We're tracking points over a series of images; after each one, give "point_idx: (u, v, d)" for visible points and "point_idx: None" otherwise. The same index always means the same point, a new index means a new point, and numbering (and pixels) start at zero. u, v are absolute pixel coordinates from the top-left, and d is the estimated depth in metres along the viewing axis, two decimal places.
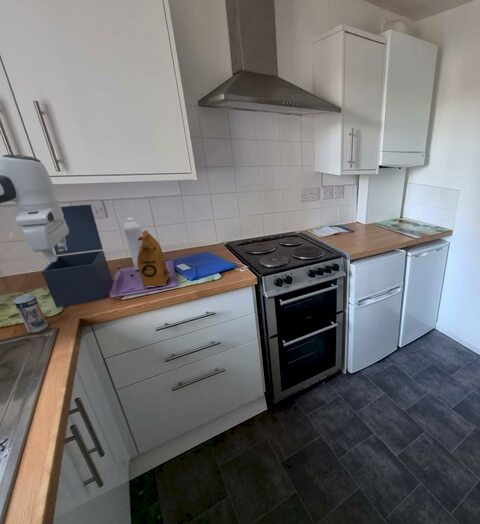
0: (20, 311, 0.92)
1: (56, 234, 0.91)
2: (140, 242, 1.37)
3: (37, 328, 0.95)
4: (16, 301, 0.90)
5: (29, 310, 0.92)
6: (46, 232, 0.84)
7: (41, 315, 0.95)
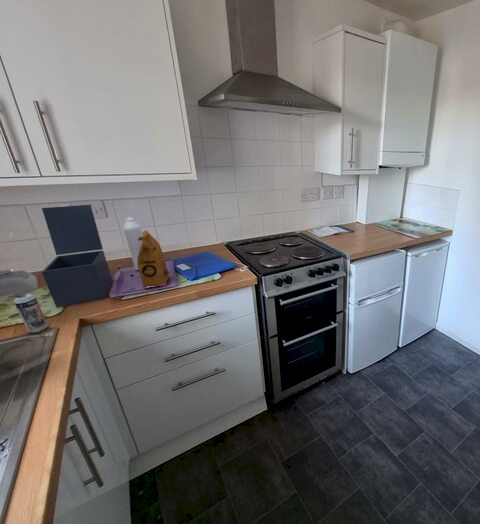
0: (20, 311, 0.92)
1: None
2: (140, 242, 1.37)
3: (37, 328, 0.95)
4: (16, 301, 0.90)
5: (29, 310, 0.92)
6: None
7: (41, 315, 0.95)
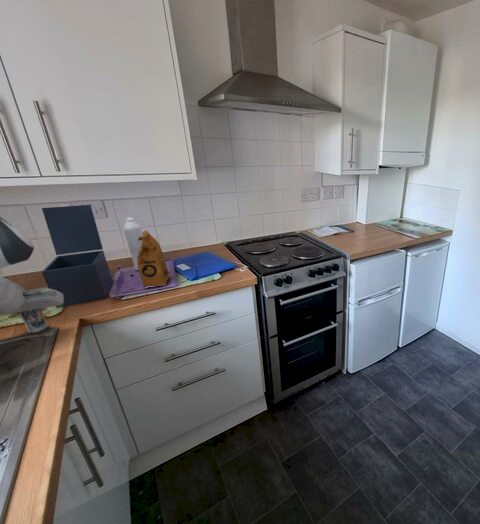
0: None
1: None
2: (140, 242, 1.37)
3: (37, 328, 0.95)
4: None
5: (29, 310, 0.92)
6: None
7: (41, 315, 0.95)
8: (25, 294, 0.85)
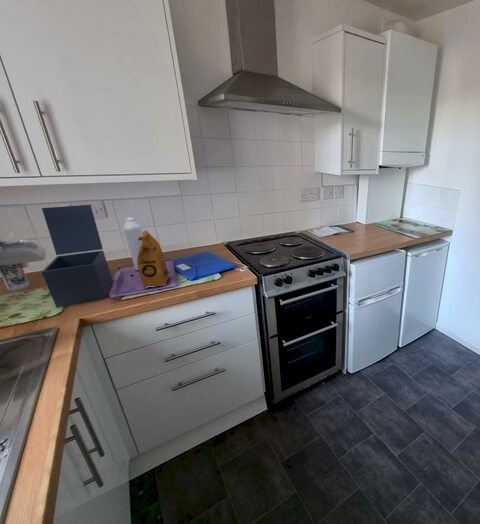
0: None
1: None
2: (140, 242, 1.37)
3: (17, 285, 0.89)
4: None
5: (9, 265, 0.87)
6: None
7: (22, 272, 0.90)
8: (2, 244, 0.79)
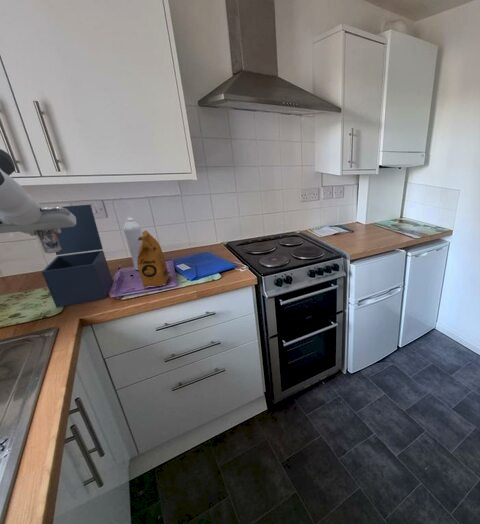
0: (36, 230, 0.99)
1: (26, 226, 0.95)
2: (140, 242, 1.37)
3: (52, 248, 1.02)
4: None
5: (45, 230, 1.00)
6: None
7: (55, 237, 1.03)
8: (42, 209, 0.92)
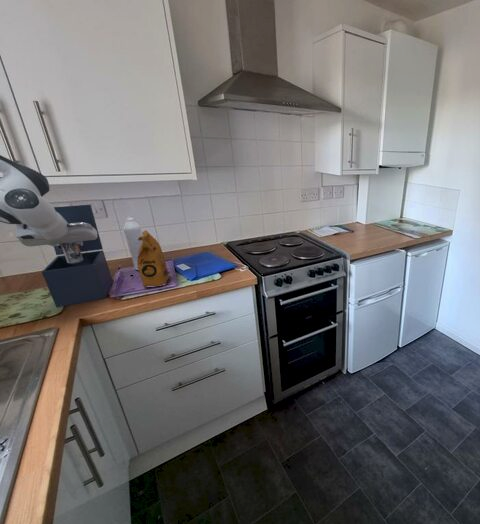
0: (62, 243, 1.09)
1: (54, 240, 1.05)
2: (140, 242, 1.37)
3: (75, 259, 1.13)
4: None
5: (69, 243, 1.10)
6: (20, 241, 1.00)
7: (78, 249, 1.13)
8: (68, 225, 1.03)
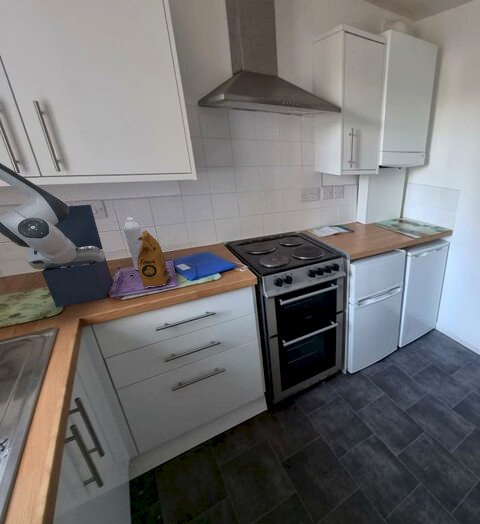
0: None
1: (63, 263, 1.08)
2: (140, 242, 1.37)
3: None
4: (73, 266, 1.13)
5: None
6: (31, 265, 1.03)
7: None
8: (77, 249, 1.06)
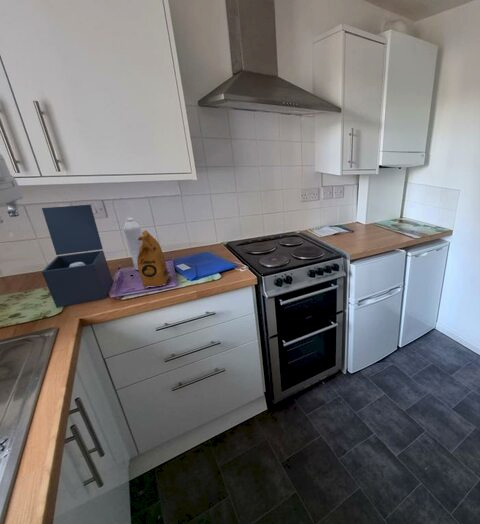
0: None
1: (1, 194, 0.84)
2: (140, 242, 1.37)
3: None
4: None
5: None
6: None
7: None
8: None
